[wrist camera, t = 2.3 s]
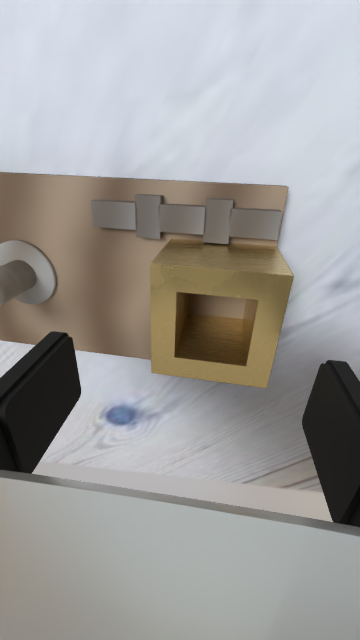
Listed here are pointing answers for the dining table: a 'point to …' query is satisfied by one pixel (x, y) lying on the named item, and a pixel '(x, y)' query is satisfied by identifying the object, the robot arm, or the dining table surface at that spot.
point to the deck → (113, 251)
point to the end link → (212, 331)
